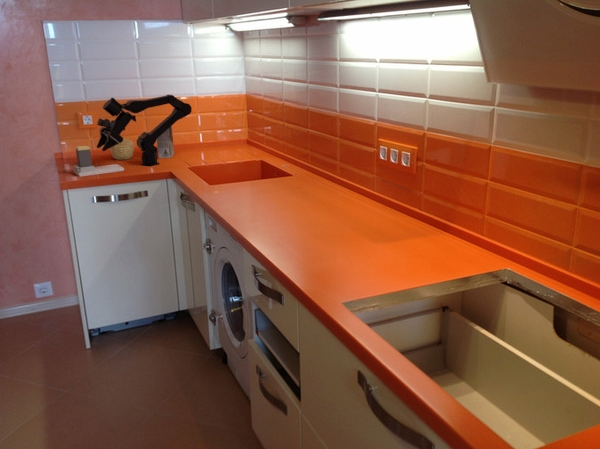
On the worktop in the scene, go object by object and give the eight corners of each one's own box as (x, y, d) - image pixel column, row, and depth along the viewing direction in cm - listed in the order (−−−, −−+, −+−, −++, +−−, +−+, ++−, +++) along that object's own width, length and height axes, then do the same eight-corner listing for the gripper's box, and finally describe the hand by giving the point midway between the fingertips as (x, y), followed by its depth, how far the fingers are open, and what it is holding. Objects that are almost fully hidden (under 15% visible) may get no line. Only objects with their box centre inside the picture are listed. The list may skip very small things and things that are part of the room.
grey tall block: (90, 168, 255) (86, 145, 252) (92, 170, 251) (89, 147, 248) (78, 170, 252) (75, 146, 249) (81, 172, 248) (78, 148, 245)
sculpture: (114, 162, 275) (111, 140, 272) (109, 158, 285) (106, 137, 282) (137, 159, 281) (134, 138, 277) (131, 155, 291) (129, 135, 287)
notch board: (117, 166, 265) (116, 159, 264) (123, 170, 256) (123, 163, 255) (74, 172, 254) (72, 164, 253) (79, 176, 246) (78, 168, 244)
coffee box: (162, 154, 292) (159, 124, 287) (174, 154, 292) (171, 124, 287) (158, 158, 283) (155, 127, 278) (170, 157, 283) (167, 126, 278)
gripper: (101, 109, 258) (80, 135, 255) (112, 113, 243) (90, 141, 241) (120, 124, 264) (100, 150, 262) (132, 129, 249) (111, 156, 247)
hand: (100, 149), depth 253 cm, fingers open, 9 cm apart
